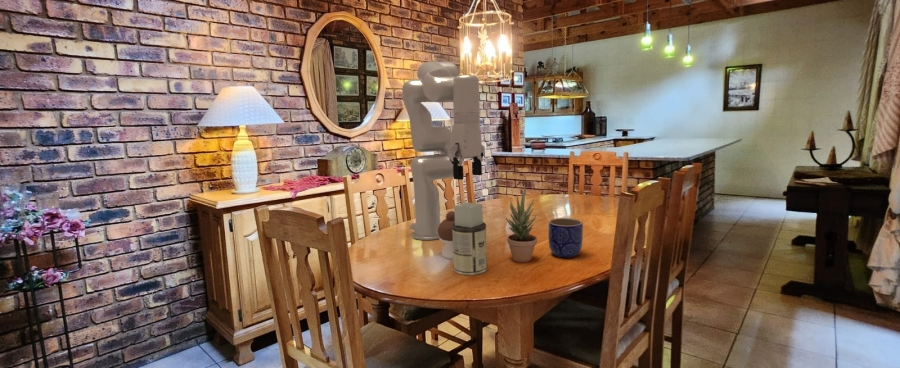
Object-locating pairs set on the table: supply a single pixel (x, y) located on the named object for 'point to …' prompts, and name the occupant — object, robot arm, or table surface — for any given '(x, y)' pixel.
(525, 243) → the potted plant
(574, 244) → the planter
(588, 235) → the table surface
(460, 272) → the coffee can
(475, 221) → the sage block
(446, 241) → the figurine
